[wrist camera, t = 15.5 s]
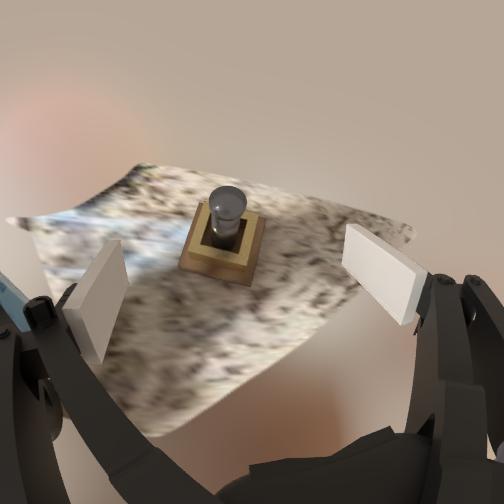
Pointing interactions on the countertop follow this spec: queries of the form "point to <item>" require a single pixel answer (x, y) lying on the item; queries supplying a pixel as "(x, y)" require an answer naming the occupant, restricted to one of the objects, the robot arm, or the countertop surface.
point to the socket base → (223, 272)
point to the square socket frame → (216, 255)
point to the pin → (226, 216)
